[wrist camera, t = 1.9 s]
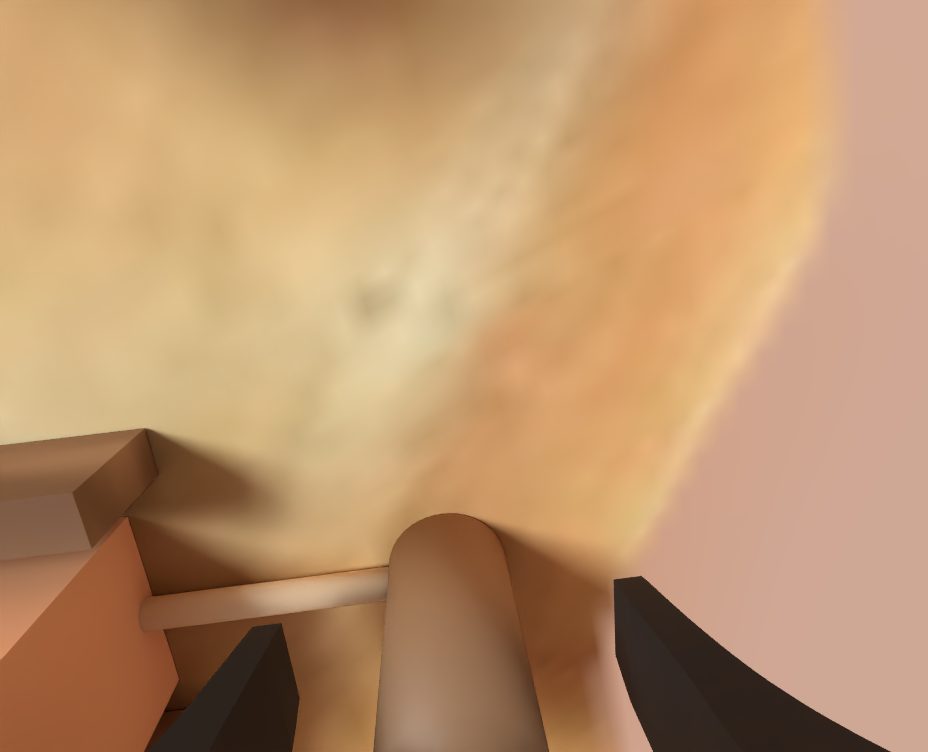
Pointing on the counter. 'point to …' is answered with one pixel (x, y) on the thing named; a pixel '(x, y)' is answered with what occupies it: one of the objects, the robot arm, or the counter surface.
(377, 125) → the counter surface
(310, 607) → the tethered block
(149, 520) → the counter surface
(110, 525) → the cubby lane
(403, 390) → the counter surface
